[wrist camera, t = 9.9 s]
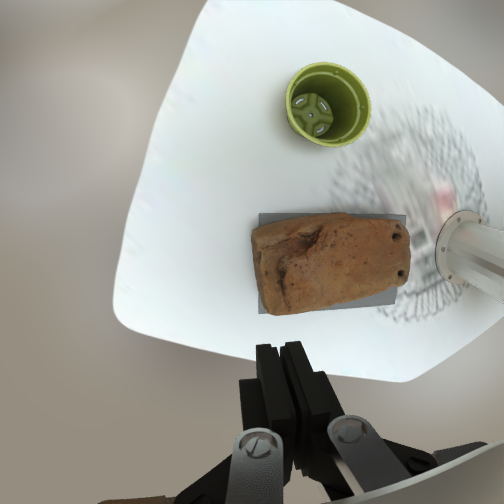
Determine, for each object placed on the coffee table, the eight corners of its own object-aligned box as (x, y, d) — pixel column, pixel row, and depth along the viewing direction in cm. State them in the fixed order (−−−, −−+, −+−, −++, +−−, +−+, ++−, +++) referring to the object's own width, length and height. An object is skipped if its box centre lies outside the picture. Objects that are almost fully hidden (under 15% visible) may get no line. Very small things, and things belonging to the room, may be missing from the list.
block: (259, 301, 43) (389, 273, 44) (266, 325, 36) (415, 290, 37) (246, 223, 40) (386, 201, 41) (252, 234, 33) (414, 208, 34)
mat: (405, 215, 42) (406, 215, 41) (393, 303, 46) (394, 304, 45) (259, 213, 40) (259, 213, 40) (258, 312, 44) (258, 313, 44)
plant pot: (258, 108, 36) (266, 93, 28) (313, 68, 35) (334, 47, 27) (304, 164, 39) (324, 164, 31) (356, 123, 38) (386, 116, 29)
